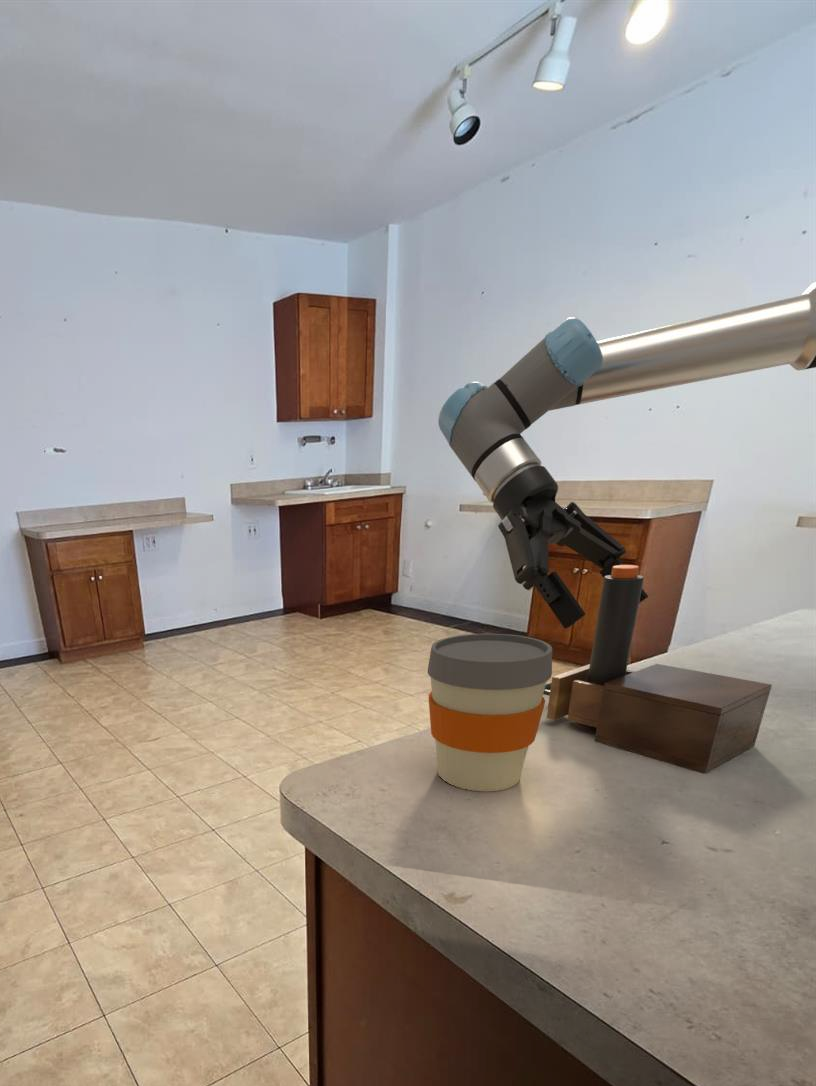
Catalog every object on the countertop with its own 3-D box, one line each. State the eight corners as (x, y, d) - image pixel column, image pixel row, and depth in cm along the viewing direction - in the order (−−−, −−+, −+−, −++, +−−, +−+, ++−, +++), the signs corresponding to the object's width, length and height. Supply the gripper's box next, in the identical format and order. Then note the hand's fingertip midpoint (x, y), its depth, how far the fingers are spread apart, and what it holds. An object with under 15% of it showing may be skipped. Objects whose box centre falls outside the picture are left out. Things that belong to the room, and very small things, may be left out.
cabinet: (594, 740, 80) (604, 682, 77) (644, 718, 85) (656, 663, 82) (705, 773, 70) (722, 708, 67) (754, 746, 75) (772, 684, 72)
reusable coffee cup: (415, 792, 71) (421, 660, 65) (428, 748, 81) (435, 632, 75) (538, 805, 66) (558, 665, 60) (536, 757, 77) (552, 634, 70)
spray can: (617, 703, 85) (643, 563, 78) (625, 716, 81) (653, 568, 74) (577, 702, 87) (599, 564, 79) (583, 714, 83) (607, 570, 75)
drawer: (520, 711, 88) (525, 670, 86) (565, 694, 93) (571, 655, 91) (633, 742, 76) (642, 696, 74) (678, 721, 81) (688, 678, 79)
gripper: (553, 499, 94) (637, 614, 89) (435, 515, 83) (523, 648, 77) (593, 457, 88) (687, 578, 82) (471, 468, 76) (570, 609, 71)
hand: (608, 612), depth 80 cm, fingers open, 13 cm apart
